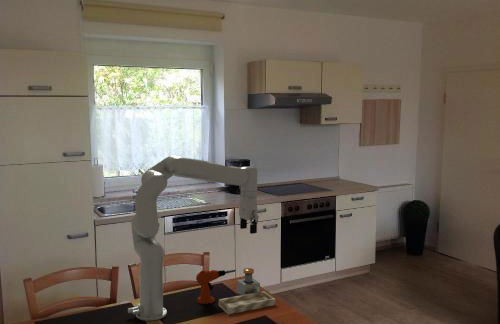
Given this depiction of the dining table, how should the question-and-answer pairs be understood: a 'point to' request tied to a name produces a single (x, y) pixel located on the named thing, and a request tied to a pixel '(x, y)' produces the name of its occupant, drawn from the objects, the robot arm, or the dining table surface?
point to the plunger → (248, 275)
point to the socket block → (247, 287)
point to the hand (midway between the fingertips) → (248, 230)
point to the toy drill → (208, 284)
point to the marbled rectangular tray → (246, 302)
